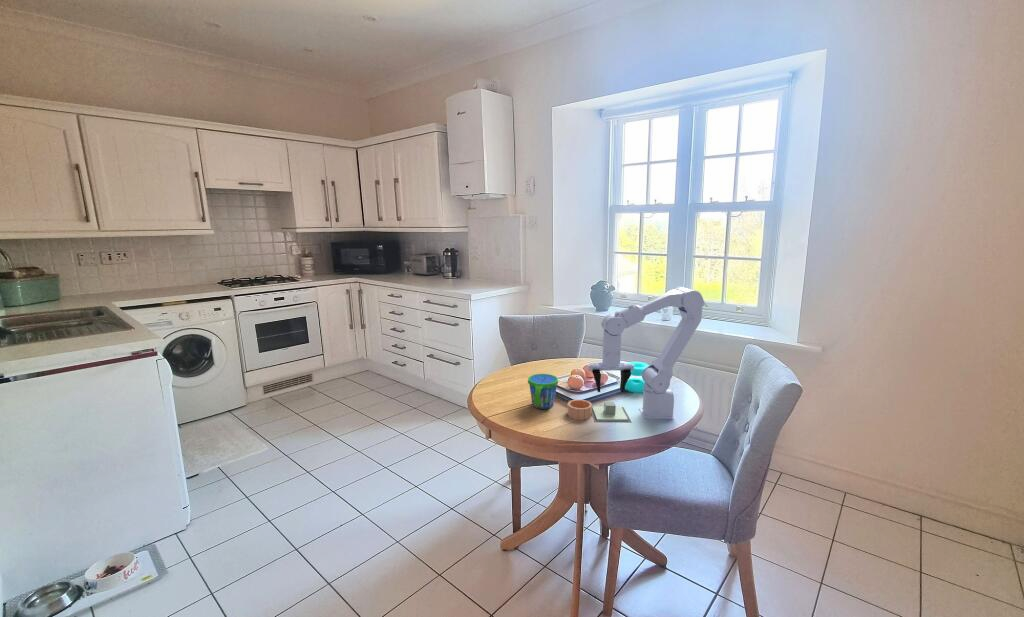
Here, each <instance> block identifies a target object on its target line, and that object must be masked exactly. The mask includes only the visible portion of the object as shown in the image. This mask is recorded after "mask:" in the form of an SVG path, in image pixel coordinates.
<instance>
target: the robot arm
mask: <svg viewBox="0 0 1024 617" xmlns="http://www.w3.org/2000/svg"><path fill="white" fill-rule="evenodd" d="M705 305H706V304H705V301H704V297H703V295H702V293H701V292H700V291H698V290H695V289H694V290H693V289H690V288H687V287H686V286H677V287H676V288H675V289H671V290H668V291H667V292H666V293H663V294H662V295H660V296H658V297H656V298H653V299H651V300H650V301H648V302H646V303H644V304H642V305H638V304H629V305H627V308H624V309H623V310H620V311H615V312H614V314H607V315H606V316H604V318H602V321H601V327H602V329H603V338H602V360H601V362H595V363H588V371H589V372H592V375H593V378H594V381H595V384H596V390H597V393H601V378H602V374H601V371H620V384H619V391H620V392H621V393H624V392H625V385H626V383H627V381H628V379H630V377H631V376H632V375H631V372H630V371H634V365H633V364H627V363H628V362H625V363H624V362H621V354H622V352H621V350H622V334H623V332H624V330H625V329H627V328H630V327H632V326H634V325H636V324H639V323H641V322H643V321H644V320H645V317H646V316H648V315H650V314H653V313H655V312H658V311H660V310H663V309H665V308H668V307H674V308H678V310H679V314H680V316H681V319H680V321H679V322H678V325H677V326H676V327H675V329H674V331H673V332H672V333H671V336H670V337H669V339H668V341H667V342H666V344H665V345H664V347H663V349H662V350H661V352H660V353H659V356H658V357H657V359H654V360H652V361H651V362H650V364H648V365H649V366H648V367H646V368H645V369H644V370H643V372H642V376H641V379H643V380H644V381H645V385H644V392H643V395H642V407H639V408H638V410H639V411H640V413H641V415H642V416H643V418H644V419H655V420H656V419H659V420H660V419H662V420H663V419H666V420H667V419H668V420H669V419H671V420H673V419H674V406H675V398H674V396H675V395H674V392H673V390H672V389H671V388H669V387H670V385H671V379H672V378H673V376H674V375H673V374H674V373H673V368H674V366H675V364H676V362H677V361H678V359H679V357H680V356H681V354H682V353H683V351H684V350H685V348H686V346H687V345H688V343H689V341H690V340H691V339H692V337H693V335H694V333H695V332H696V330H697V329H698V326H699V325H700V324H701V321H702V316H703V315H702V314H703V313H702V312H703V307H704V306H705Z"/></svg>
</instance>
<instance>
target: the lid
mask: <svg viewBox="0 0 1024 617" xmlns="http://www.w3.org/2000/svg"><path fill="white" fill-rule="evenodd" d="M622 407H623V406H616V404H615V402H614V401H604V402H603V406H592V409H593V412H594V414H595V417H596V420H597V421H628V418H627V416H626V415H625V413H624V411H623V409H622Z"/></svg>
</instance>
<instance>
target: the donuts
mask: <svg viewBox="0 0 1024 617" xmlns="http://www.w3.org/2000/svg"><path fill="white" fill-rule="evenodd" d="M626 363H627V364H633V365H634V371H630V372H631V376H634V377H632V378H630V377H629V379H628V381H627V383H626V385H625V388H624V390H626V391H627V392H629V393H630V392H631V393H636V394H637V393H638V394H641V393H643V392H644V385H645V381H644V380H643V379H642V378H640V377H642V372H643V370H644V369H645V368H646V367H648V366H649V365H650V364H647V363H645V362H641V361H629V362H626ZM638 377H639V378H638Z"/></svg>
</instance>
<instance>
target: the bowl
mask: <svg viewBox="0 0 1024 617" xmlns="http://www.w3.org/2000/svg"><path fill="white" fill-rule="evenodd" d="M592 407H593V404H592V402H591V401H588V400H585V399H572V400H569V401H568V402H567V409H566V410H567V416H568V417H569V418H571V419H574V420H580V421H582V420H588V419H590V418H591V417H592Z"/></svg>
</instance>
